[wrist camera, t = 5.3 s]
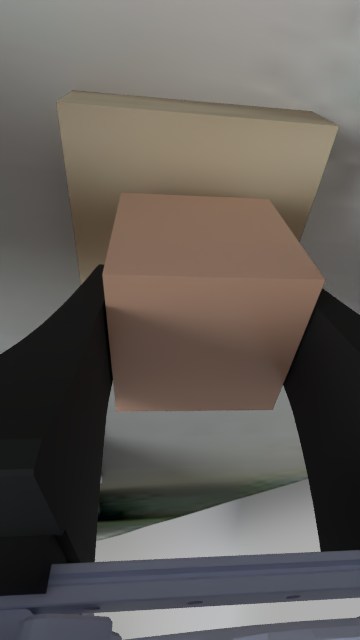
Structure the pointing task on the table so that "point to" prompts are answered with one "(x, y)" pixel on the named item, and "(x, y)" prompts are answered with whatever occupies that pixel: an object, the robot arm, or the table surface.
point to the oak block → (184, 158)
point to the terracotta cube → (204, 302)
